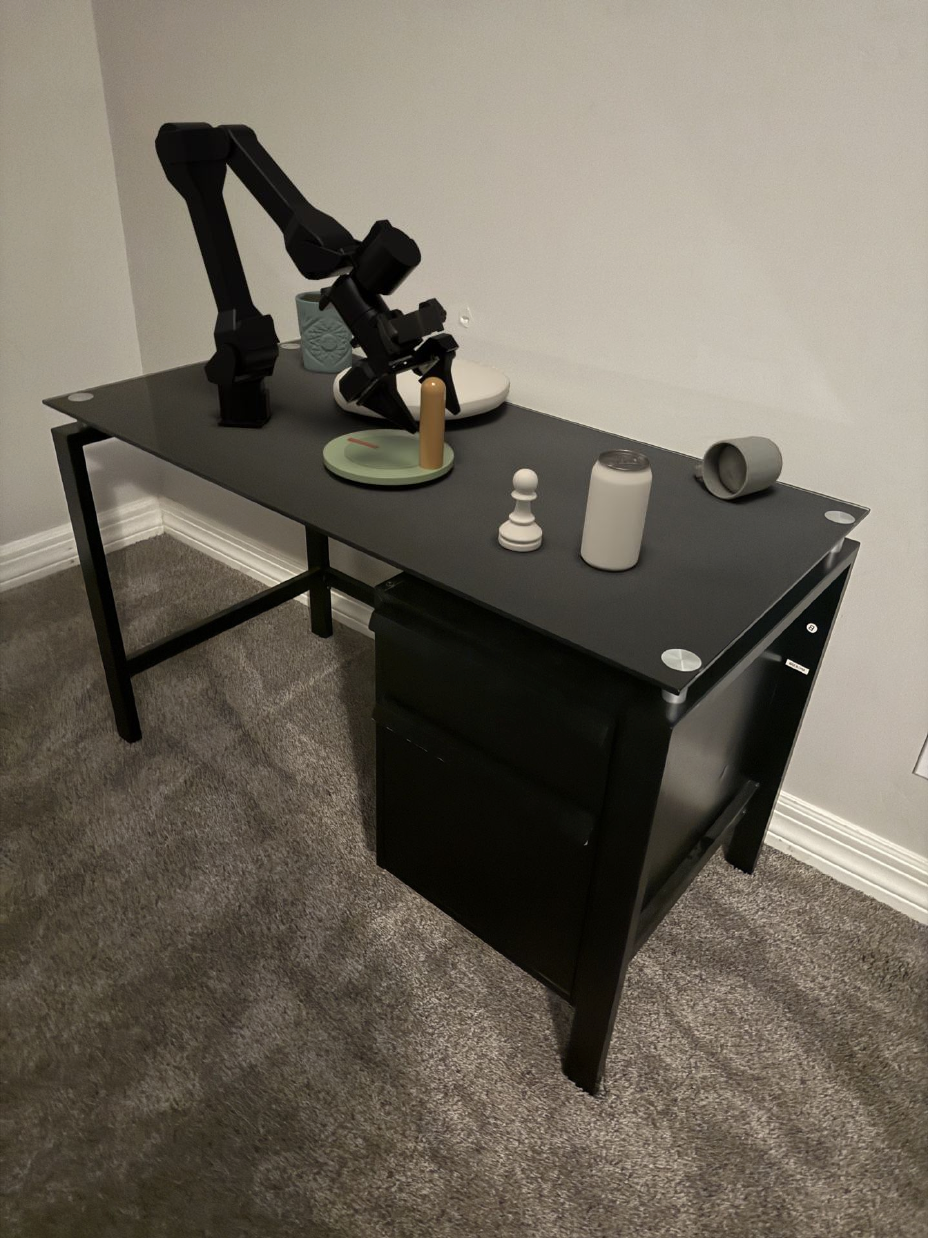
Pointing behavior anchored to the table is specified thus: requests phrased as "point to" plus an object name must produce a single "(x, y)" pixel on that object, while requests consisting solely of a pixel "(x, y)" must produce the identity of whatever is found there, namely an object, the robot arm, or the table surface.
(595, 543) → the can
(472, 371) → the white round disc
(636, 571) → the table surface
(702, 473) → the ceramic mug
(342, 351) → the teal embossed cup
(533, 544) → the chess pawn
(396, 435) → the green disc with post
